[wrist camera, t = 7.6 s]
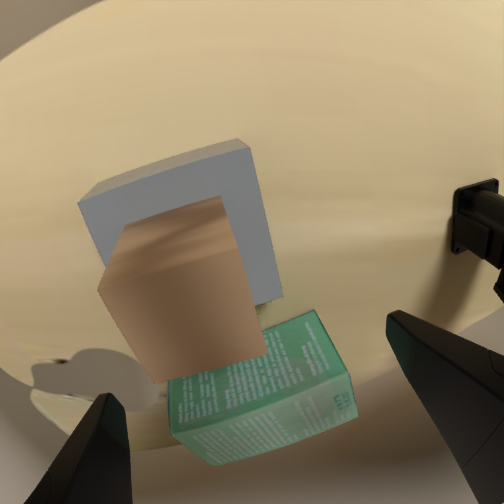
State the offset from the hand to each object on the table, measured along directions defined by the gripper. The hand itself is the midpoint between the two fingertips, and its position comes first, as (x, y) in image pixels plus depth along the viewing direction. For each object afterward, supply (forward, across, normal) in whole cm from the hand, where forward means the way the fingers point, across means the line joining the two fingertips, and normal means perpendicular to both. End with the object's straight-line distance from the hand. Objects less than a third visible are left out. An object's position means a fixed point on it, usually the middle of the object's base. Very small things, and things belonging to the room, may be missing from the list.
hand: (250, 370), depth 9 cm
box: (+13, +1, +14) cm, 19 cm away
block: (+9, +2, 0) cm, 9 cm away
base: (+13, +2, 0) cm, 13 cm away
